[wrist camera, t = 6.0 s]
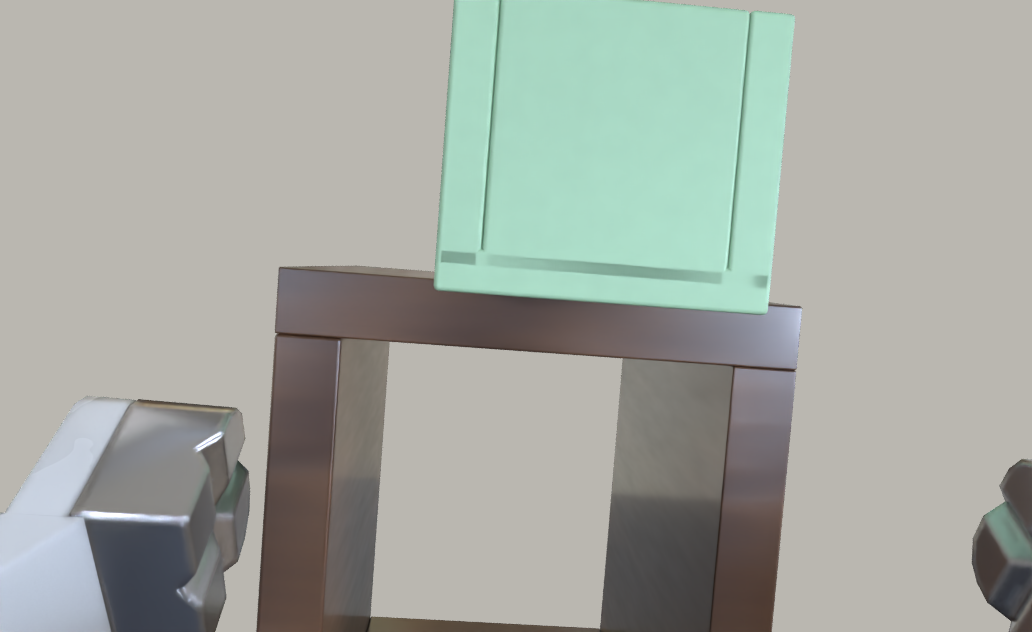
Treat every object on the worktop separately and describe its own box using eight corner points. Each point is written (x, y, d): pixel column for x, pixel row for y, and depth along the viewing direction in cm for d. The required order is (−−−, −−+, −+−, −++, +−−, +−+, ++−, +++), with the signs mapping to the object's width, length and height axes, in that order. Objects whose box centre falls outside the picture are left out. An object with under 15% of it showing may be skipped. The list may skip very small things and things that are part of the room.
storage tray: (572, 282, 34) (581, 176, 34) (768, 316, 12) (796, 13, 12) (453, 273, 34) (461, 166, 33) (433, 290, 12) (455, -20, 12)
